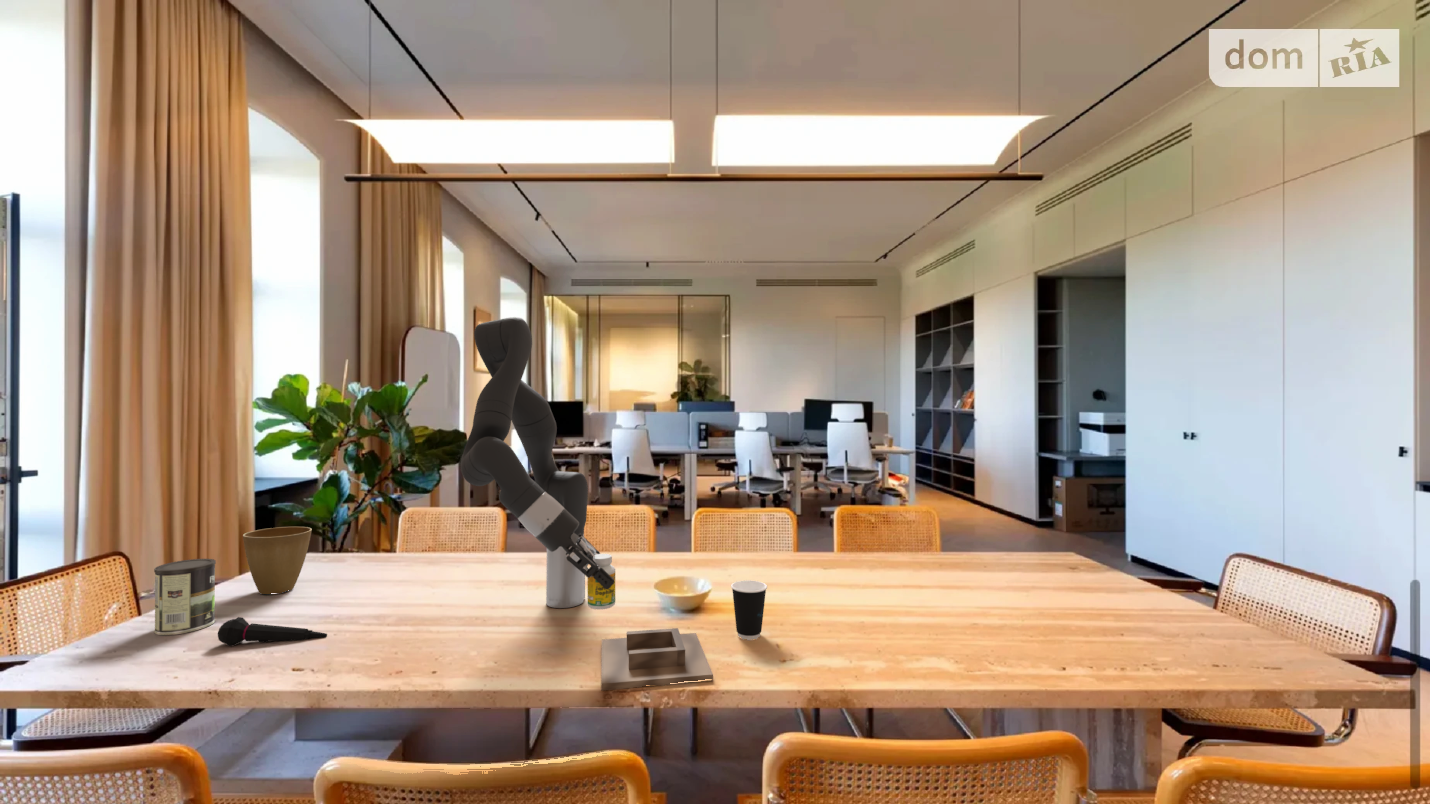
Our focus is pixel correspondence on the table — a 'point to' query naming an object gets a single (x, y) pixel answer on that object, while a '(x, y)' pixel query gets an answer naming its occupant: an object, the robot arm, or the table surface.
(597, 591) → the supplement bottle
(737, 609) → the dixie cup
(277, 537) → the plant pot
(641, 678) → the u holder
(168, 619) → the coffee can
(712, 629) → the table surface
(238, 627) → the microphone
